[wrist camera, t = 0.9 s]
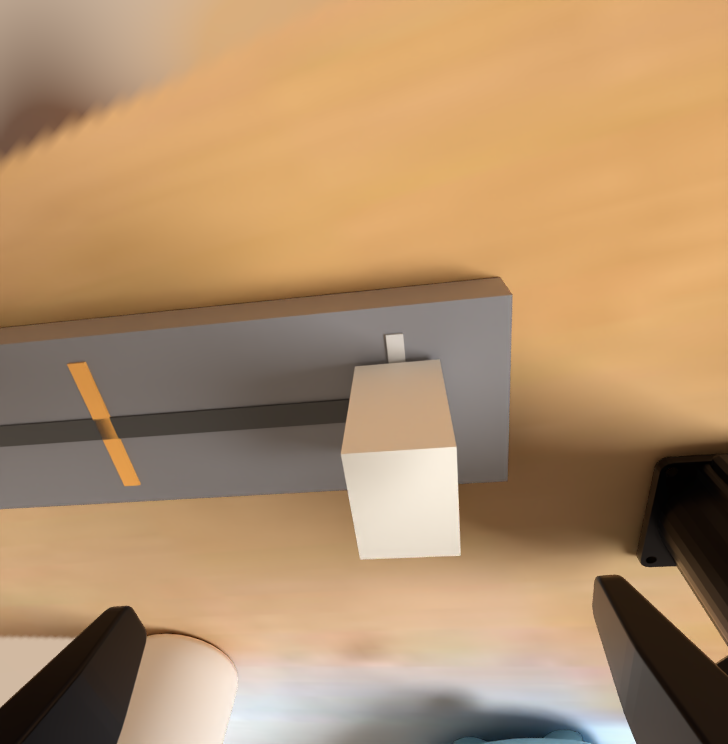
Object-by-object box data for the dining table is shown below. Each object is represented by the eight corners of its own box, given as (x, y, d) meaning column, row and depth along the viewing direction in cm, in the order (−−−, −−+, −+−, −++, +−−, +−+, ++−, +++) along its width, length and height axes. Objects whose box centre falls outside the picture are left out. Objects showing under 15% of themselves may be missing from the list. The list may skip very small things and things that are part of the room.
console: (498, 450, 21) (508, 482, 19) (11, 481, 23) (-22, 511, 22) (500, 277, 17) (512, 295, 15) (-79, 335, 20) (-128, 357, 18)
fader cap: (444, 450, 18) (460, 555, 14) (368, 455, 18) (360, 559, 14) (439, 359, 16) (456, 446, 12) (355, 366, 17) (340, 454, 12)
